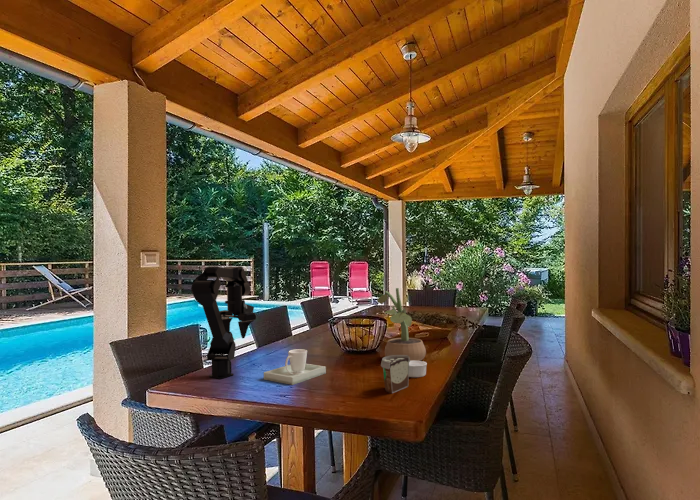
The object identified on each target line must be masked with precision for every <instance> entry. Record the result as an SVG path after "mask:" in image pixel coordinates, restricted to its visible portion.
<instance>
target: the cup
mask: <svg viewBox="0 0 700 500" xmlns="http://www.w3.org/2000/svg"><path fill="white" fill-rule="evenodd" d="M287 353H288V354H287V355H288V356H287V357H286V359H285V363H284V366H285V368H286V370H287V372H289V373H290V374H293V375H295V374H302V373H304V371H303V370H304V369H305V364H307V356H308V355H307V354H308V350H307V349H304V348H303V349H302V348H299V349H298V348H297V349H296V348H295V349H290V350H289V351H288V352H287ZM288 361H289V365H291V369H292V371H293V372H292V373H291V372H290V371H289V370H288V368H287V365H288Z"/></svg>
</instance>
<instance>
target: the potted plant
mask: <svg viewBox="0 0 700 500" xmlns="http://www.w3.org/2000/svg"><path fill="white" fill-rule="evenodd" d="M395 294H396V295H395V296H396V298H394V296H393V295H392V294H391V293H390V292H389V291H387V290H385V291H384V294H382V295H381V296H379V297H378V298H377V301H376V302H377V303H378V304H381V305H383V304H384V303H386V302H387V300H388V298H389V299H390V301H391V302H392V304H393V306H391V308H392V309H389V310H386V311H385V312H384V314H387V315H390V321H391V322H392V323H394V324H400V331H401V333H400V334H401V335H400V337H396V338H390V339H388V340H387V342H386V345H385V346H384V347H385V348H384V356H385V357H387V356H393V355H407V356H409V358H410V361H422V360H423V361H424V359H425V356H426V355H427V350H426V346H425V344H424V342H423V340H422V339H420V338H415V337H409V327H411V325H412V323H413V318H412V317H411V316H410V315H409V314H407V311H406V308H403V305H402V301H401V295H400V289H399V287H395Z"/></svg>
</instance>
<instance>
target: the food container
mask: <svg viewBox="0 0 700 500" xmlns="http://www.w3.org/2000/svg"><path fill="white" fill-rule="evenodd" d="M409 362H410V358H409V356H407V355H393V356H387V357H386V356H384V357H382V359H381V363H380V367H381V368H382V371H383V372H382V373H383V382H384V389H385V392H386V393H389V394H394V393H397V392H399V391H401V390H404V389H406V388H408V387H409V378H410V377H409Z"/></svg>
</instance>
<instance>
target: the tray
mask: <svg viewBox="0 0 700 500" xmlns="http://www.w3.org/2000/svg"><path fill="white" fill-rule="evenodd" d="M287 368H288V370H289V371H290V372H291V373H292V372H293V371H292V369H291V365H290V364H287ZM303 371H304V373H302V374H295V375H293V374H290V373H289V372H287V370H286V368H285V365H284V366H280V367H278V368H277V367H276V368H273V369H271V370H267V371H264V372H263V380H264V381H265V380H266V381H270V382H274V383H280V384H285V385H292V386H294V385H298V384H299V383H302V382H306V381H308V380H311V379H314V378H316V377H319V376H322V375H325V374H327V366H323V365H318V364H310V363H306V364H305V369H304V370H303Z"/></svg>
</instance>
